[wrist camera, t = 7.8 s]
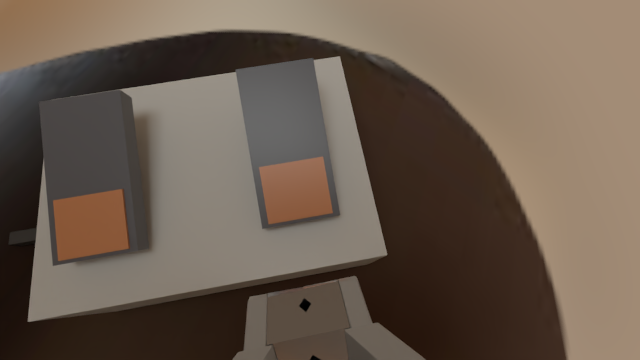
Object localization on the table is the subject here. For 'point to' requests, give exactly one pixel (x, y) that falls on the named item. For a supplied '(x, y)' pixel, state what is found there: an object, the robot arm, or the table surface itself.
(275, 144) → the block
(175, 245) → the switch box
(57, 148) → the block
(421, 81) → the table surface
